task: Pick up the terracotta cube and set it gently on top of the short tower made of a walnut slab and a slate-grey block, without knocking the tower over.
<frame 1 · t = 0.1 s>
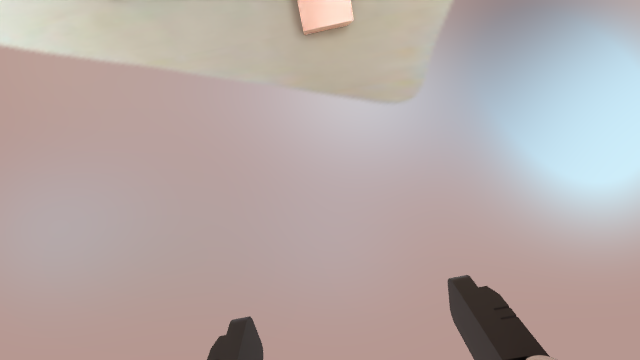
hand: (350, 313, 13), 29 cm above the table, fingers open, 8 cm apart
terracotta cube: (321, 5, 34), on the table
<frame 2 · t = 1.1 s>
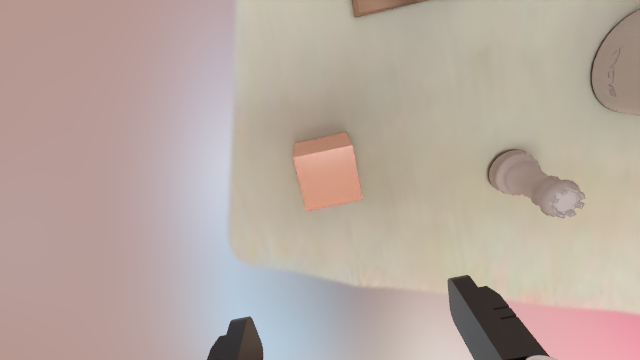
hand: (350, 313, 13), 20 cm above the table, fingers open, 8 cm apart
terracotta cube: (325, 161, 31), on the table
rook chess piece: (507, 169, 32), on the table
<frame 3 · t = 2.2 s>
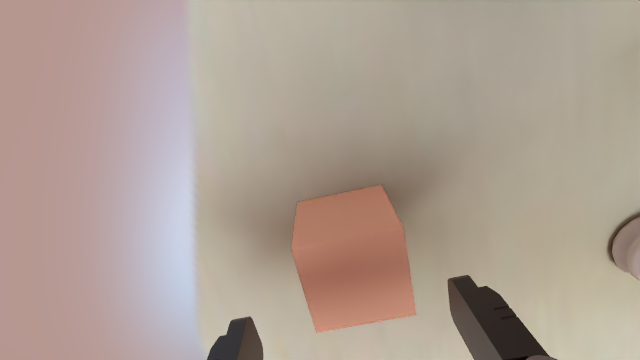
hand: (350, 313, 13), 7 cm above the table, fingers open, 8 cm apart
terracotta cube: (346, 229, 19), on the table
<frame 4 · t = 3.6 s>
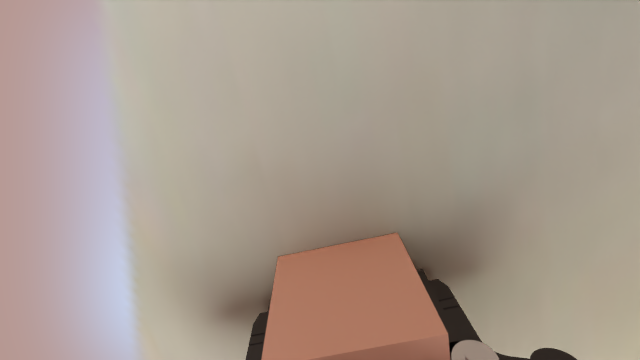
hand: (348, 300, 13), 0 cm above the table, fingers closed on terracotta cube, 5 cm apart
terracotta cube: (348, 292, 14), on the table, touching gripper
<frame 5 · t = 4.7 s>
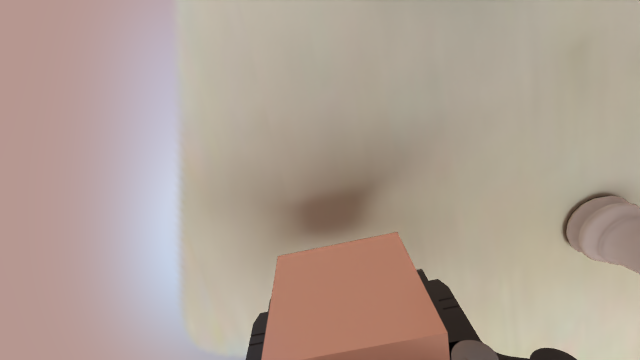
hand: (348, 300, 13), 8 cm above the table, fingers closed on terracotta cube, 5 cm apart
terracotta cube: (347, 291, 14), point 7 cm above the table, touching gripper
rook chess piece: (591, 220, 22), on the table
when the fingers open (7 cm above the table, at t = 10.3 s): terracotta cube drops 2 cm, resting on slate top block.
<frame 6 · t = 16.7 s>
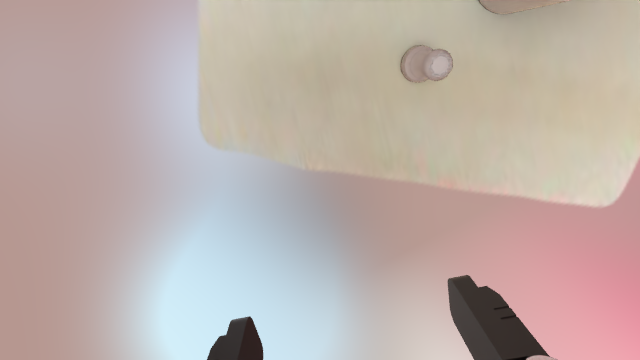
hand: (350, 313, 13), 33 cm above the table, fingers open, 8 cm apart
rook chess piece: (416, 64, 41), on the table
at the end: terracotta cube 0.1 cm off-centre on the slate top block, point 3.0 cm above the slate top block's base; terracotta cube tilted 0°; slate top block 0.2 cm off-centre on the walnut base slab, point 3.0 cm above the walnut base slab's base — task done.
